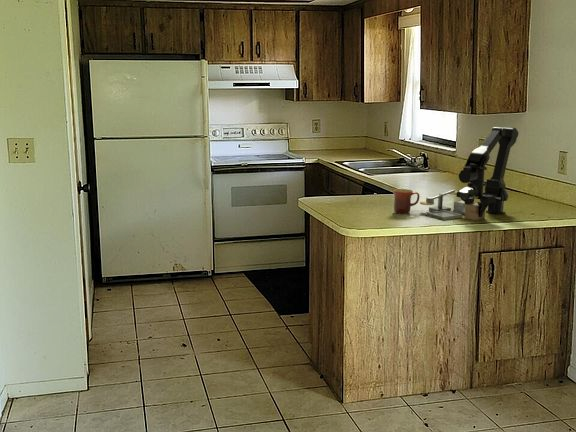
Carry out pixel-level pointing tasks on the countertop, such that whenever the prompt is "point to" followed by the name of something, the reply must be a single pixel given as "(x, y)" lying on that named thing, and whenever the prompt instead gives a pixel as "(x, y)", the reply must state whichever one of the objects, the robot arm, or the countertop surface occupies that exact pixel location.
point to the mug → (403, 200)
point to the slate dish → (444, 215)
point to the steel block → (459, 206)
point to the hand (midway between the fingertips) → (474, 215)
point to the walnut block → (473, 211)
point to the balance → (440, 200)
